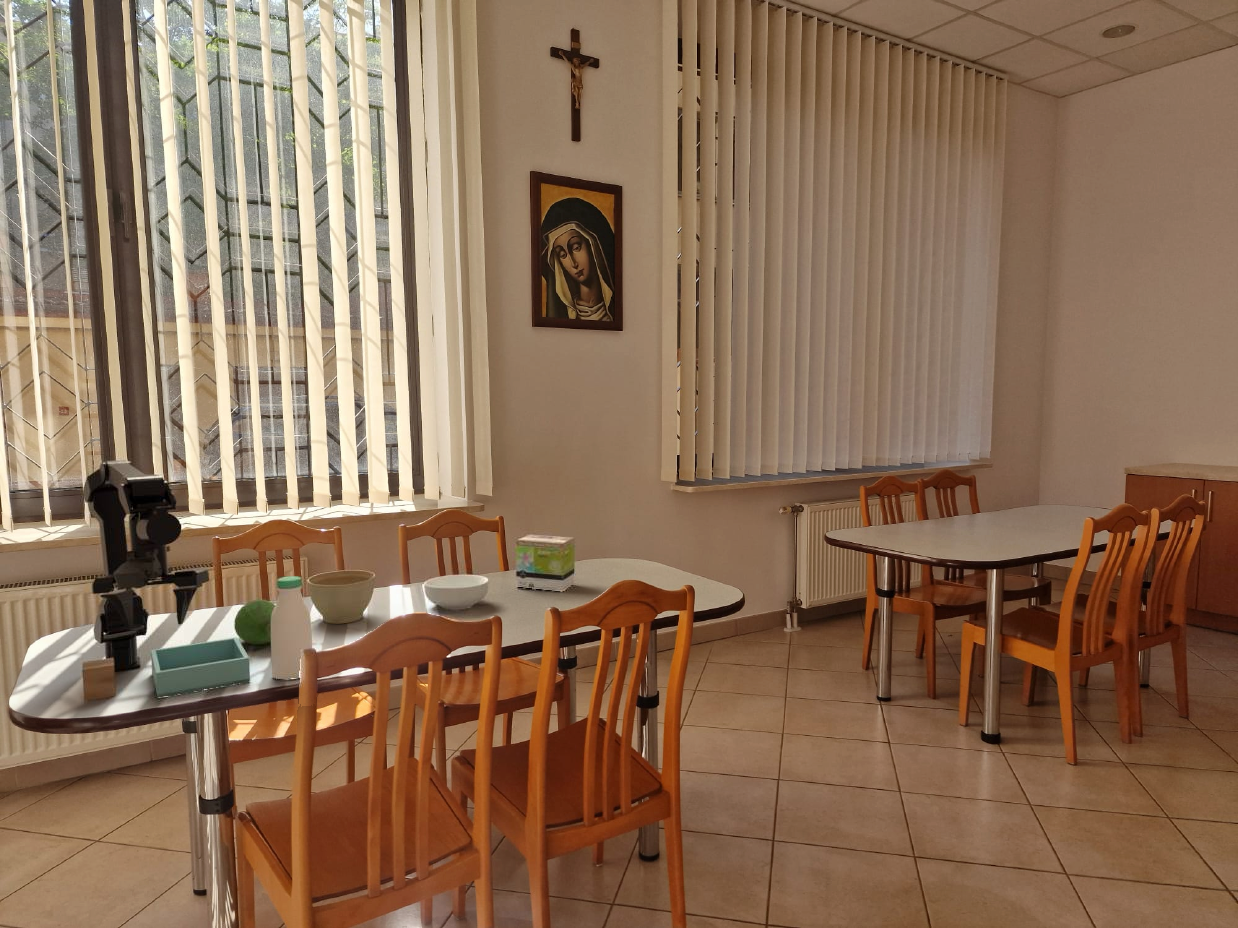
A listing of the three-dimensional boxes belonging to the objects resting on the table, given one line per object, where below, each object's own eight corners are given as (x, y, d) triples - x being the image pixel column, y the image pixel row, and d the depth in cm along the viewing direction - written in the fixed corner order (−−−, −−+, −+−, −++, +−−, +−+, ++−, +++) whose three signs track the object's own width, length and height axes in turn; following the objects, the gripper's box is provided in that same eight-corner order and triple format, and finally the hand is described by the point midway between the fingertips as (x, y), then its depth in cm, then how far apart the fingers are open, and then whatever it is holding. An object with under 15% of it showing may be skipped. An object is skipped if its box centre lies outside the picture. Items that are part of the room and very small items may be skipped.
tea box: (515, 589, 236) (514, 539, 234) (528, 581, 245) (528, 533, 244) (563, 593, 231) (563, 542, 230) (575, 585, 241) (575, 536, 239)
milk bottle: (320, 674, 164) (316, 577, 163) (283, 684, 159) (279, 584, 157) (301, 665, 170) (298, 572, 168) (265, 675, 164) (261, 578, 162)
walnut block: (84, 692, 154) (82, 662, 154) (115, 687, 157) (113, 657, 157) (84, 701, 150) (82, 669, 150) (115, 695, 153) (113, 664, 152)
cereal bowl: (495, 599, 224) (495, 574, 224) (479, 615, 208) (479, 588, 207) (436, 597, 226) (435, 572, 225) (415, 613, 209) (415, 587, 209)
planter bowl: (305, 615, 208) (303, 573, 207) (369, 607, 215) (368, 567, 214) (312, 631, 194) (311, 587, 193) (381, 622, 201) (380, 580, 200)
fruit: (291, 648, 181) (290, 605, 180) (243, 657, 175) (241, 612, 174) (276, 632, 193) (275, 591, 192) (231, 639, 187) (229, 597, 186)
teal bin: (152, 673, 164) (150, 650, 164) (238, 659, 173) (237, 637, 173) (157, 698, 151) (155, 672, 151) (250, 682, 160) (249, 657, 159)
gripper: (69, 552, 142) (77, 640, 142) (179, 544, 143) (186, 631, 143) (106, 545, 153) (112, 626, 153) (207, 537, 154) (213, 618, 154)
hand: (155, 626), depth 151 cm, fingers open, 9 cm apart
